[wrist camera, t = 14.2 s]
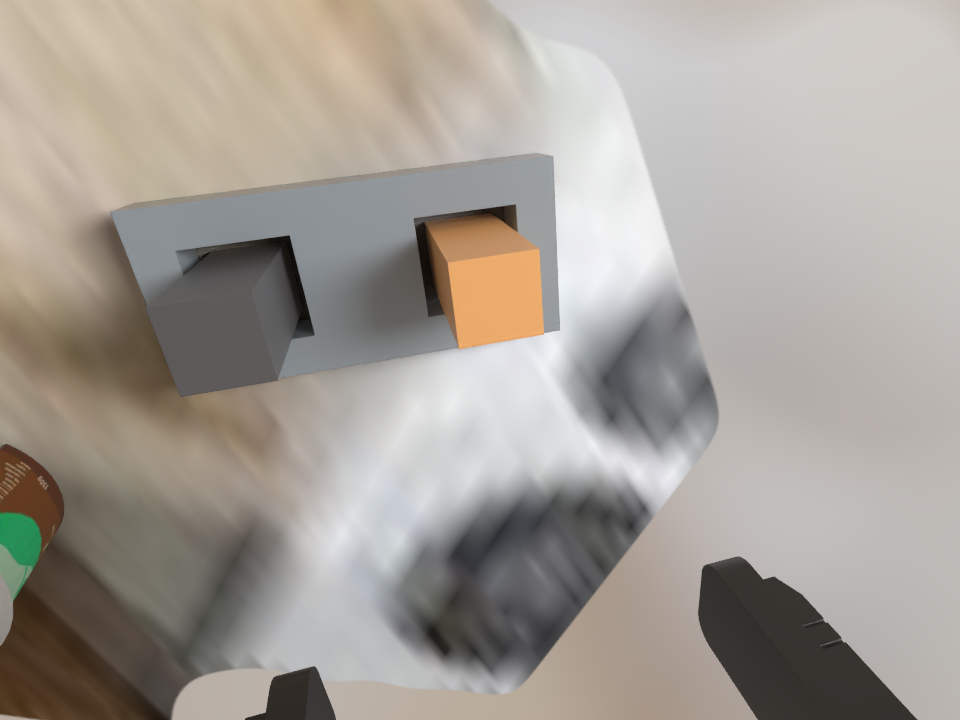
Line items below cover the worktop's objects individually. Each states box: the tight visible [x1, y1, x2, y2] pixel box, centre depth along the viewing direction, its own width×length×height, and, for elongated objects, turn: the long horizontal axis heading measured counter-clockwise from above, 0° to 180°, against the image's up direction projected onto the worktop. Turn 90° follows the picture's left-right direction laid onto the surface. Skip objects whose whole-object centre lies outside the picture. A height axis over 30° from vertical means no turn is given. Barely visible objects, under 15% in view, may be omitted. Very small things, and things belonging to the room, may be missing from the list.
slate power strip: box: [110, 153, 560, 397], centre depth 27 cm, size 22×10×10 cm, turn 96°
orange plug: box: [424, 213, 544, 349], centre depth 28 cm, size 4×4×10 cm
